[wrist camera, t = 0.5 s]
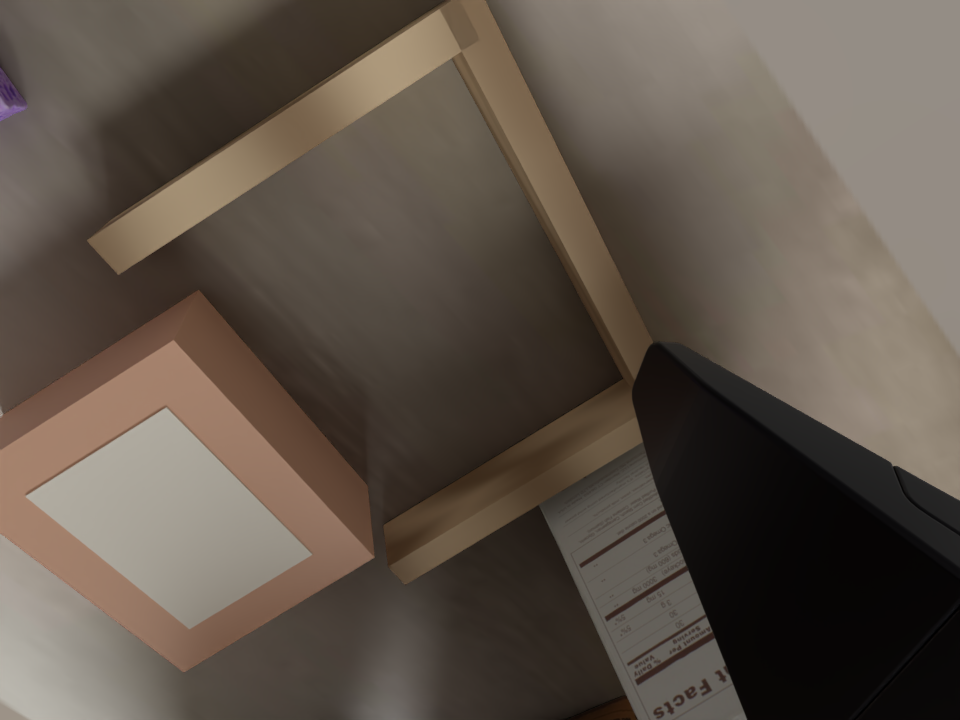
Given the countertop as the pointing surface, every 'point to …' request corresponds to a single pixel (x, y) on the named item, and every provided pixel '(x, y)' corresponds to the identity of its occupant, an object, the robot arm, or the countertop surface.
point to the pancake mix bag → (609, 711)
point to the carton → (180, 487)
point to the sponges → (9, 98)
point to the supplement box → (641, 593)
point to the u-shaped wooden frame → (555, 201)
